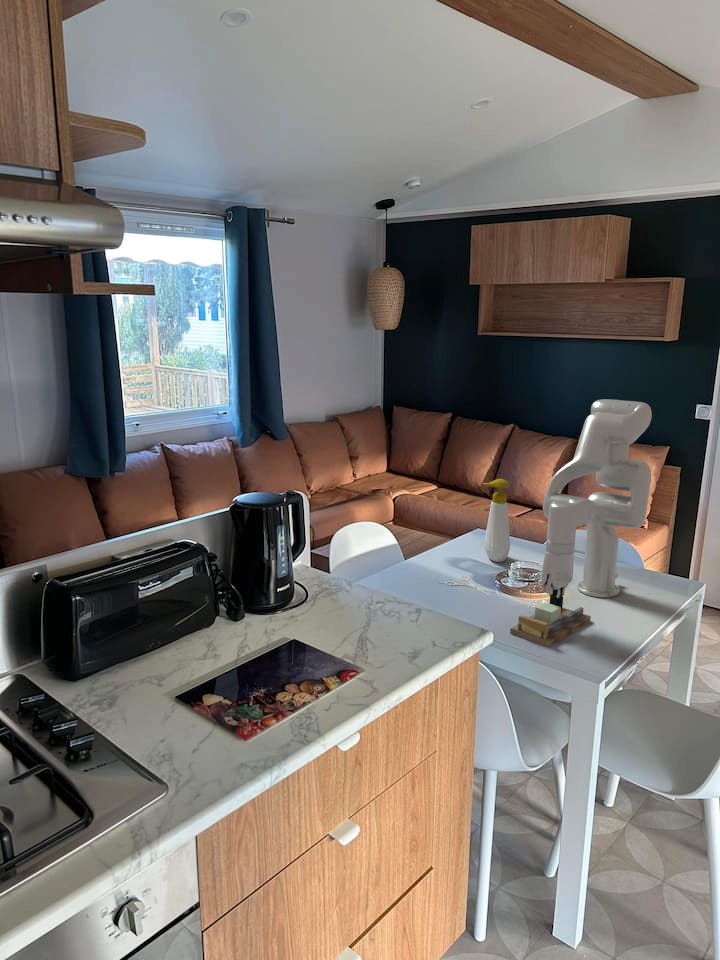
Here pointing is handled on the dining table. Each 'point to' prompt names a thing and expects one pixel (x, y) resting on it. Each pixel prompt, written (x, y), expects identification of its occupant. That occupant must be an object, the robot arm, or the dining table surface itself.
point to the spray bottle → (498, 524)
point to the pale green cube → (547, 613)
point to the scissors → (468, 585)
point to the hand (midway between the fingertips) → (555, 609)
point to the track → (550, 627)
